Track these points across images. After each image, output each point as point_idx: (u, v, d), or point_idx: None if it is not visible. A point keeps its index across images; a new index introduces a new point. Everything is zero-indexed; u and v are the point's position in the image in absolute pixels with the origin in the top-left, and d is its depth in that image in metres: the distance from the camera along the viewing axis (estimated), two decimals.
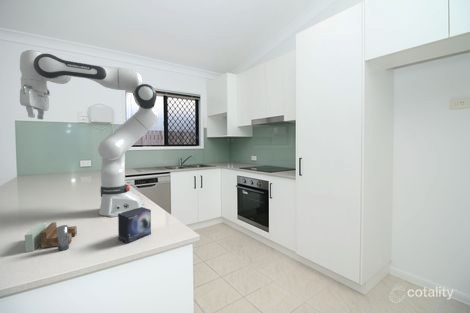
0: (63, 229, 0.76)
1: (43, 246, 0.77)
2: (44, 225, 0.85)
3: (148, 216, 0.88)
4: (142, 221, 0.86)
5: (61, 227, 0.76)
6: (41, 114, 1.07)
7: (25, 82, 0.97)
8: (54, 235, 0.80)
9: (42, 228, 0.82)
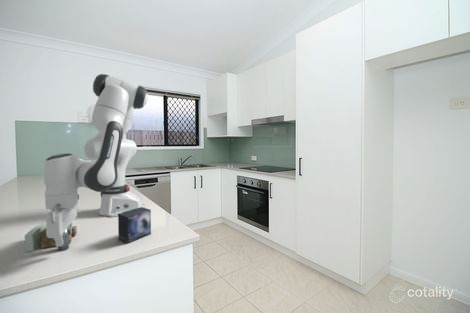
0: None
1: (43, 246, 0.77)
2: (44, 225, 0.85)
3: (148, 216, 0.88)
4: (142, 221, 0.86)
5: None
6: (69, 227, 0.82)
7: (51, 200, 0.71)
8: None
9: (42, 228, 0.82)
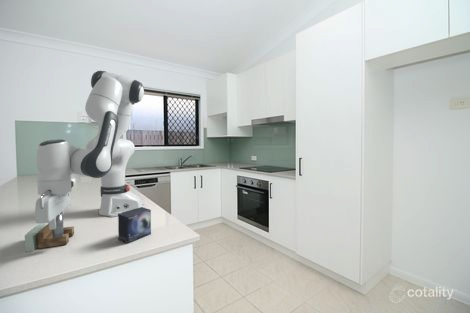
0: (58, 216, 0.76)
1: (40, 246, 0.77)
2: (44, 225, 0.85)
3: (148, 216, 0.88)
4: (142, 221, 0.86)
5: None
6: None
7: (43, 185, 0.71)
8: (51, 235, 0.80)
9: (42, 228, 0.82)
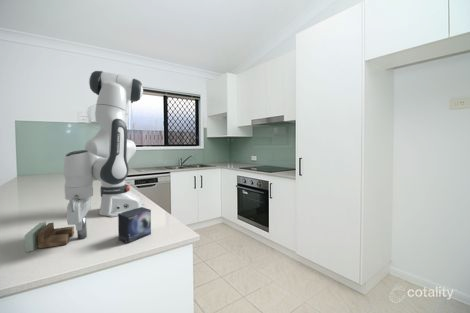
0: (82, 219, 0.85)
1: (40, 246, 0.77)
2: (44, 225, 0.85)
3: (148, 216, 0.88)
4: (142, 221, 0.86)
5: None
6: None
7: (71, 191, 0.80)
8: (51, 235, 0.80)
9: (42, 228, 0.82)
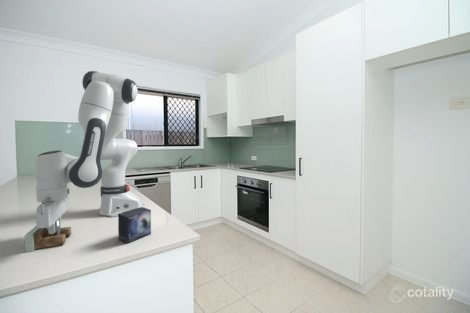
0: (56, 222, 0.81)
1: (36, 247, 0.77)
2: None
3: (148, 216, 0.88)
4: (142, 221, 0.86)
5: None
6: None
7: (42, 193, 0.77)
8: (48, 236, 0.80)
9: None
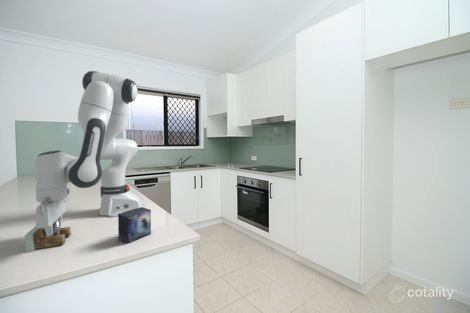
0: (56, 223, 0.81)
1: (36, 247, 0.77)
2: None
3: (148, 216, 0.88)
4: (142, 221, 0.86)
5: None
6: None
7: (42, 193, 0.77)
8: (47, 236, 0.80)
9: None
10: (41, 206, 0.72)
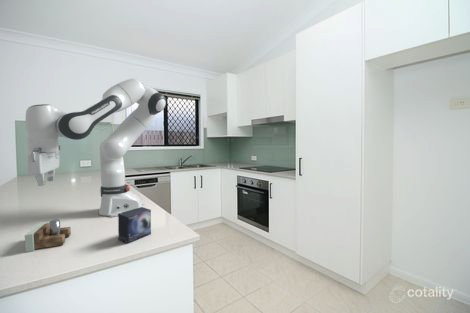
0: (56, 223, 0.81)
1: (36, 247, 0.77)
2: None
3: (148, 216, 0.88)
4: (142, 221, 0.86)
5: (53, 221, 0.82)
6: (51, 174, 0.90)
7: (33, 144, 0.79)
8: (47, 236, 0.80)
9: None
10: (33, 153, 0.75)
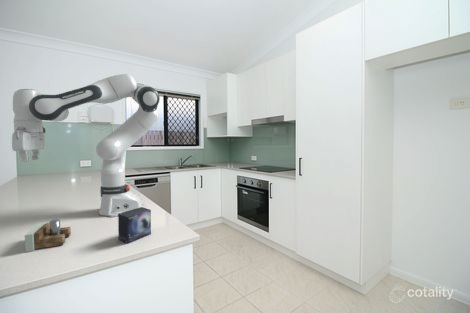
0: (56, 223, 0.81)
1: (36, 247, 0.77)
2: None
3: (148, 216, 0.88)
4: (142, 221, 0.86)
5: (53, 221, 0.82)
6: (36, 154, 0.99)
7: (18, 124, 0.89)
8: (47, 236, 0.80)
9: None
10: (16, 131, 0.84)
